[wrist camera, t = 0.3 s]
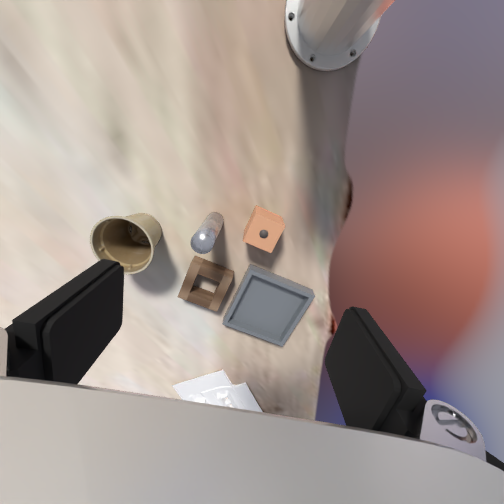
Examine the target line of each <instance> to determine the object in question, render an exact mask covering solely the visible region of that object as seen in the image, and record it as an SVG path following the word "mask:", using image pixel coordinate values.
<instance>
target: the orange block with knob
mask: <svg viewBox="0 0 504 504" xmlns="http://www.w3.org/2000/svg"><path fill="white" fill-rule="evenodd" d="M284 228H285V224H284V222H283V219H282V217H281V216H279V215H277V214H274V213H272V212H270V211H268V210H266V209H263V208H261V207H259V206H257V205H256V206H255V208H254V211H253V213H252V215H251V217H250V219H249V221H248V224H247V226H246V228H245V230H244V237H243V241H244V242H246V243H248V244H251V245H253V246H255V247H258V248H260V249H262V250H265V251H267V252H269V253H272V251H273V249H274V247H275V245H276V243H277V241H278V239H279V237H280V235H281V233H282V232H283V230H284Z"/></svg>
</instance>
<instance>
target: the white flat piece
mask: <svg viewBox="0 0 504 504" xmlns="http://www.w3.org/2000/svg"><path fill="white" fill-rule="evenodd" d="M172 386H173V388H174V389H175V390H176V392H177V393H178V394H179V396H180V397H181V398H182V400H186V401H193V402H199V403H206V404H212V405H219V406H225V407H232V408H238V409H245V410H251V411H257V412H262V410H261V408H260V407H259V405H258V403H257V401H256V400H255V398H254V396H253V395H252V393H251V391H250V390H249V388H248V386H247V385H246V382H245V383H241V384H238V385H233V384H232V383H231V381H230V380H229V378H228V376H227V375H226V373H225V371H224V370H223V369H222V370H221V371H217V372H214V373H211V374H207V375H204V376H201V377H198V378H194V379H191V380H188V381H184V382H181V383H178V384H175V385H172ZM227 397H228V399H225V398H227ZM205 400H206V401H205ZM229 404H232V405H231V406H230V405H229Z"/></svg>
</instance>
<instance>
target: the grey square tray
mask: <svg viewBox="0 0 504 504" xmlns="http://www.w3.org/2000/svg"><path fill="white" fill-rule="evenodd" d="M314 297H315V295H314V293H313V290H312V289H310V288H307V287H305V286H302V285H300V284H298V283H295V282H293V281H290V280H288V279H286V278H283V277H281V276H278V275H276V274H274V273H271V272H269V271H266V270H264V269H262V268H259V267H257V266H254V265H252V264H250V265H249V267H248V269H247V271H246V273H245V275H244V277H243V279H242V281H241V283H240V285H239V287H238V289H237V291H236V293H235V295H234V297H233V299H232V301H231V303H230V305H229V307H228V309H227V311H226V313H225V316H224V318H223V325H226V326H228V327H231V328H234V329H236V330H239V331H242V332H245V333H247V334H250V335H253V336H255V337H258V338H261V339H263V340H266V341H269V342H272V343H274V344H277V345H280V346H282V347H283V345H284V343H285V342H286V340H287V339H288V337H289V336H290V334H291V333H292V331H293V329H294V328H295V326H296V325H297V323H298V322H299V320H300V319H301V317H302V315H303V314H304V312H305V311H306V309H307V308H308V306H309V305H310V303H311V301H312V300H313V298H314Z"/></svg>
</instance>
